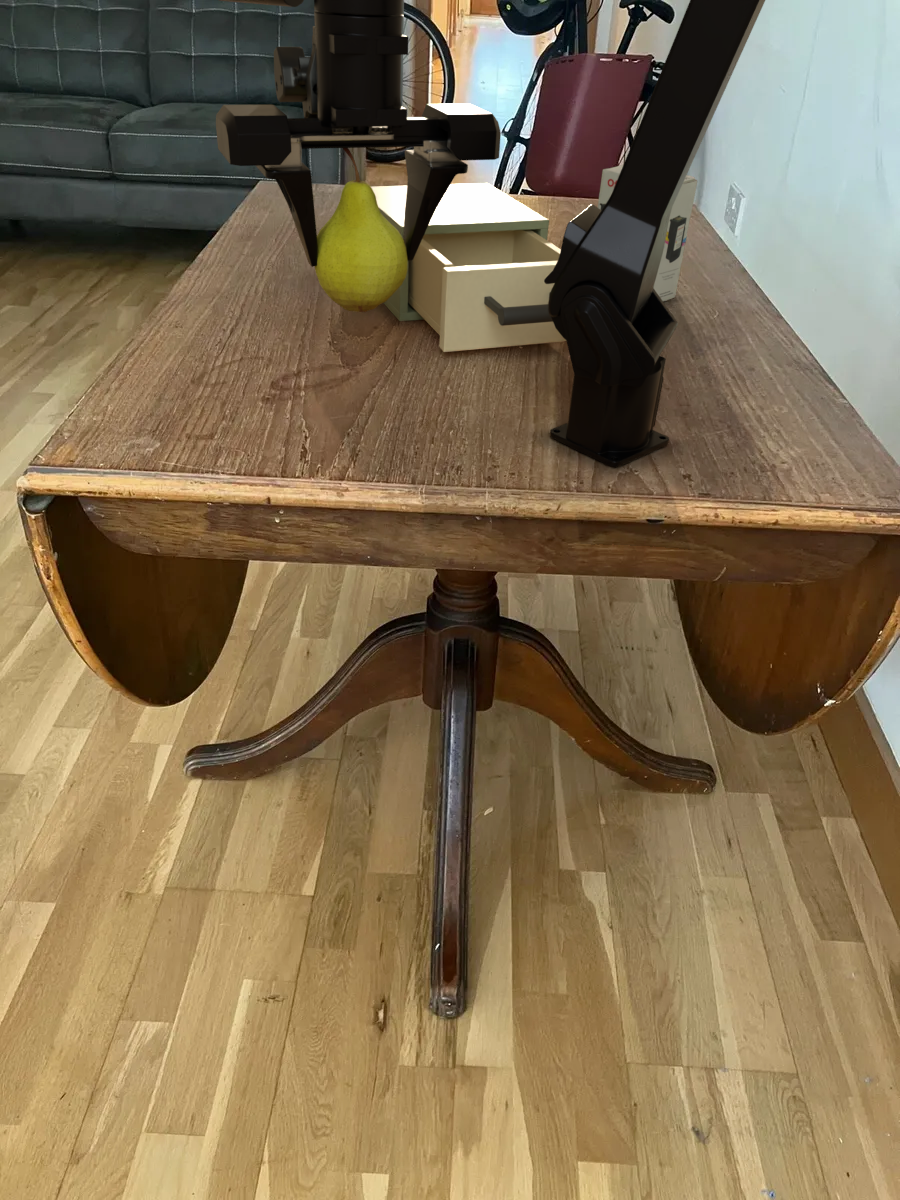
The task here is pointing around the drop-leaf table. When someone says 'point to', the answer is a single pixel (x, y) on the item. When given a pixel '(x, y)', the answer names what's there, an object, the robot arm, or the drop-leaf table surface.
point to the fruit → (360, 251)
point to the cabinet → (457, 222)
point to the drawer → (484, 288)
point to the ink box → (675, 231)
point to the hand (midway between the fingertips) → (361, 262)
